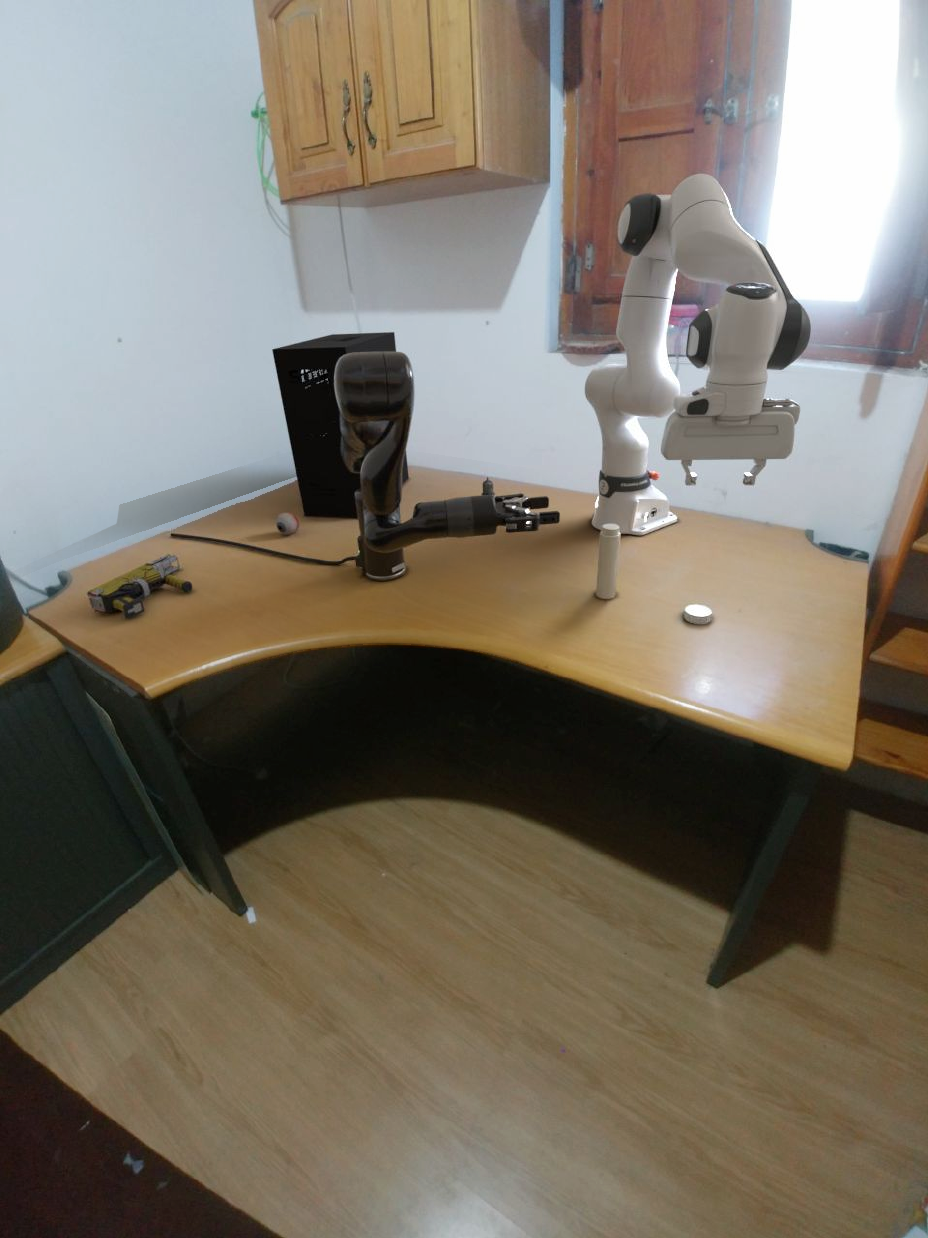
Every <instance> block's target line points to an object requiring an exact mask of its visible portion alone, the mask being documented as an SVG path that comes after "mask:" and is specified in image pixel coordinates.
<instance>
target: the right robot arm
mask: <svg viewBox="0 0 928 1238" xmlns="http://www.w3.org/2000/svg"><path fill="white" fill-rule="evenodd" d="M623 206H624V207H623V209H622V211H621V214H620V216H619V219H618V223H617V243H618V246H619V249H620V251H622V252H623V253H625V254H628V255H630V256H631V259H630V262H629V265H628V268H627V271H626V275H625V279H624V283H623V288H622V293H621V298H620V299H621V300H620V305H619V311H618V318H617V322H616V330H615V333H616V338H617V340H618V341H619V343H620V344H621V345H622V346H623V349H624V351H625V355H626V356H625V357H626V364H622V363H607V364H603V365H597V366H596V367H594V368H593V369H592V370H591V371H590V372H589V374H588V375H587V377H586V380H585V382H584V395H585V396H584V397H585V398H586V400H587V402H588V403H589V404H590V406H591V407H592V409H593V411H594V413H595V415H596V418H597V422H598V425H599V429H600V434H601V435H600V436H601V441H602V442H601V443H602V444H601V445H602V447H601V468H600V470H599V474H598V492H599V493H598V496H597V499H596V502H595V503H594V504H595V505H594V507H595V511H594V514H593V517H592V520H591V525H592V526H593V527H594V528H595V529H597V530H599V531H602V526H603V525H605V524H616V525H618V526H619V527H620V529H619V532H620V533H621V534H623V535H625V534H626V535H632V536H633V535H634V536H645V535H646V534H650V533H652V532H654V531H657V530H660V529H662V528H665V527H668V526H670V525H672V524H675V523H677V522H678V516H677V515H676V514H675V513H674V512H672V511H670V503H669V502H670V501H669V498H668V497H667V496H666V495H665V494H664V493H663V492H661V491H660V490H659V489H658V488H656V487H655V486H654V485H652V483H651V480H653V481H658V479H659V478H660V473H659V472H657V471H654V470H651V471H649V470H648V469H647V466H648V458H649V457H648V456H649V447H650V442H649V437H648V435H647V434H646V433H645V432H644V431H643V429H642V428H641V426H640V423H639V421H638V419H643V420H651V419H663V418H665V417H667V416H668V417H667V419H666V423H665V426H664V430H663V434H662V439H661V444H660V453H661V455H662V456H663V457H664V459H665V460H666V461H680V464H681V466H682V468H683V471H684V473H685V479H684V484H685V486H696V485H697V478H698V476H697V474H696V472H691V470H690V468H689V467H692V465H693V461H718V460H719V461H721V460H722V461H723V460H725V461H726V460H728V461H731V460H753V463H754V465H753V467H752V468H751V469H750V471H749V472H744V473H743V479H742V484H743V485H744V486H755V484H756V479H757V476H759V474H760V473H761V472H762V470H763V469H764V468H765V467H766V465H767V460H786V459H787V458H788V457H789V456H790V455H791V454H792V453H793V450H794V449H793V448H794V442H795V431H796V430H795V429H796V428H795V427H796V425H797V423H798V421H799V418H800V415H801V414H800V413H801V405H800V404H799V403H798V402H796V401H794V400H793V398H779V399H778V398H765V394H766V388H767V383H768V370H771V371H772V370H773V371H782V370H784V369H786V368H787V367H789V366H790V365H791V364H793V363H794V362H795V361H796V360H797V359H798V358H799V357H801V355H803V353H804V352H805V351H806V349H807V347H808V345H809V342H810V338H811V332H812V331H811V330H812V327H811V320H810V317H809V314H808V312H807V310H806V309H805V308H804V307H803V305H802V304H801V303H800V302H799V301H798V300H797V299H796V298H795V297H794V296H793V294H792V293H791V291H790V289H789V287H788V286H787V284H786V282H785V280H784V278H783V276H782V274H781V273H780V271H779V268H778V267H777V265H776V263H775V262H774V259H773V258H772V256H771V253H769V251H768V249H767V248H766V247H765V246H764V244H763V243H762V242H761V241H759V240H758V239H756V238H755V237H753V236H751V235H750V234H749V233H748V232H747V231H746V230H744V228H742V226H741V225H740V224H739V223H738V222H737V220H736V218H735V217H734V214H733V211H732V208H731V204H730V202H729V199H728V197H727V195H726V193H725V190H724V189H723V187H722V186H721V184H720V183H719V182H718V180H717V179H716V178H715V177H714V176H712V175H710V174H706V173H696V174H693V175H692V174H691V175H690V176H688V177H686V178H685V179H683V180H682V181H681V182H680V183H678V184H677V186H676V187H675V188H674V190H673V191H672V193H671V194H654V193H651V192H647V193H646V192H645V193H641V194H637V195H634V196H631V198H630V199H629V200H627V202H626V203H625V204H624V205H623ZM678 272H679V273H680V274H681V275H682V276H684V277H685V278H687V279H689V280H691V281H695V282H700V283H709V284H714V285H715V284H716V285H722V286H727V287H726V288H724V289H723V291H722V293H721V296H720V298H719V302H718V303H716V304H715V305H714V306H711V307H710V308H707V309H705V308H704V309H703V310H702V311H701V312H699V313H698V314H697V315H696V317H695V318H694V319H693V320H692V321H691V322H689V326H688V330H687V340H686V349H685V356H686V358H687V359H688V361H689V362H690V363H691V364H692V365H693V366H694V367H695V368H697V369H700V370H704V371H708V374H707V377H706V380H705V386H702V387H698V388H696V389H693V390H690V391H686V392H684V393H681V385H680V381H679V379H678V377H677V376H676V375H675V373H674V372H673V370H672V368H671V366H670V362H669V358H668V352H667V334H668V327H669V320H670V315H671V309H672V303H673V299H674V293H675V285H676V277H677V274H678Z"/></svg>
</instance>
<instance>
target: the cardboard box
mask: <svg viewBox="0 0 928 1238" xmlns="http://www.w3.org/2000/svg"><path fill="white" fill-rule="evenodd" d="M396 346H397V345H396V337H395V331H388V332H362V333H361V332H359V333H340V334H339V333H333V334H328V335H324V336H320V337H315V338H312V339H308V340H305V341H300V342H296V343H292V344H288V345H284V346H281V347H276V348H272V350H271V351H272V356H273V361H274V367H275V371H276V377H277V381H278V387H279V393H280V397H281V404H282V407H283V412H284V418H285V423H286V428H287V429H286V430H287V433H288V438H289V444H290V449H291V454H292V460H293V464H294V470H295V474H296V480H297V485H298V490H299V495H300V500H301V505H302V510H303V511H302V512H303V516H304V517H329V518H356V519H358V516H357V509H356V502H355V491H356V490H357V489H358V488H359V487H361V482H360V473H352V472H350V471H349V470H348V469H347V468H346V466H345V464H344V462H343V459H342V455H341V447H340V444H341V430H340V411H339V407H338V404H337V400H336V395H335V389H334V372H335V367H336V364H337V362H338V360H339V358H340V357H342V356H343V355H345V354H348V353H353V352H385V351H393V352H397V347H396ZM302 371H303V372H302ZM408 467H409V466H408V457H407V451H406V452H405V456H404V461H403V469H402V486H403V485H404V484H405V483H406V482H407V481H408V480H409V479H410V478H409V477H410V476H409V468H408Z"/></svg>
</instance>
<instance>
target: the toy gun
mask: <svg viewBox="0 0 928 1238" xmlns="http://www.w3.org/2000/svg"><path fill="white" fill-rule="evenodd" d="M175 562H176V563H177V566H176V565H173V563H175ZM180 569H181V566H180V561H179V557H178V556H177V555H176V554H172V555H171V553H167V554H166V555H164V556H161V557H159V558H157V559H155V560H153V561H151V562H148V563H147V562H146V563H145V564H142V565H140V566H138V567H136V568H134V569H132V570H130V571H127V572H126V573H123V574H122V575H119V576H117V577H115V578H113V579H111V580H108V581H107V582H104V583H103V584H100V585H98V586H96V587H94V588H92V589H90V590H88V591H87V592H86V593H87V597H88V601H89V605H90V608H91V609H92V610H94V612H95V613H99V614H101V613H112V612H116V611H121V612H123V613H124V616H125V617H124V618H125V619H127V620H129V619H131V618H134V617H135V616H138V615H140V614H143V613H145V607H144V602H143V599H145V598H147V597H149V596H150V595H151V591H154V590H156V589H159V588H162V587H163V586H164V585H165V584H166V585H167V586H170V587H172V588H174V589H177V590H179V591H182V592H183V593H186V594H187V593H189V592H191V591H192V590H193V584H192V582H190V581H188V580H184V579H181V578H179V577H178V576H174V575H173V573H174V572H176V571H177V570H180Z"/></svg>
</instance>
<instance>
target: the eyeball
mask: <svg viewBox="0 0 928 1238" xmlns="http://www.w3.org/2000/svg"><path fill="white" fill-rule="evenodd" d="M299 525H300V522H299V519H298V517H297V516H296V515H295V514H294V513H292V512H287V511H286V512H282V513H280V514H279V515H278V516H277V517H276V520H275V527H276V529H277V530H278V531H279V532H280V533H281V534H282V535H285V536H286V535H287V536H289V535H293V534H295V533H296V532H297V531H298V529H299Z"/></svg>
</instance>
